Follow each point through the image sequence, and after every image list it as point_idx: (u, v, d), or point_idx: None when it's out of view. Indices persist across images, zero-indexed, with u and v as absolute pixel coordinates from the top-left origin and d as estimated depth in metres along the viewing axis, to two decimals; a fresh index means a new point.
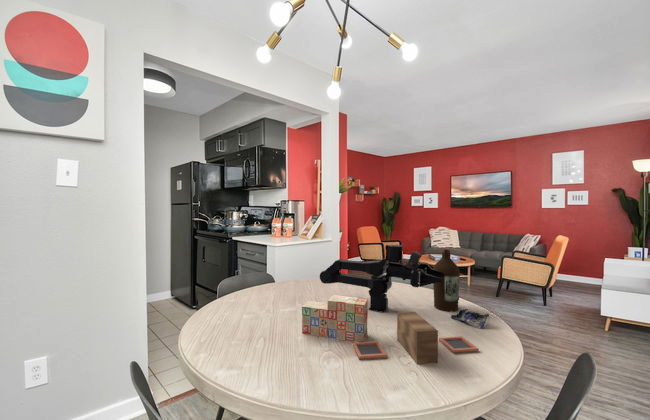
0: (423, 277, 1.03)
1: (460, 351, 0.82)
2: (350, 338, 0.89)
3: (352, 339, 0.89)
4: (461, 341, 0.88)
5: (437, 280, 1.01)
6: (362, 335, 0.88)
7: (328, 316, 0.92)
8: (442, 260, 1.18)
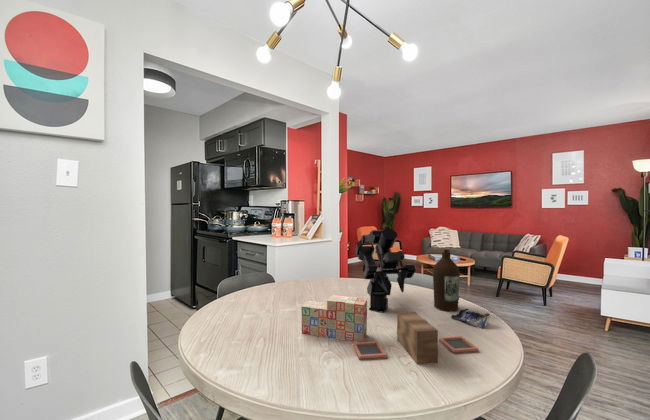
0: None
1: (460, 351, 0.82)
2: (349, 338, 0.89)
3: (351, 339, 0.89)
4: (461, 341, 0.88)
5: (385, 289, 1.00)
6: (361, 335, 0.88)
7: (327, 316, 0.92)
8: (442, 260, 1.18)
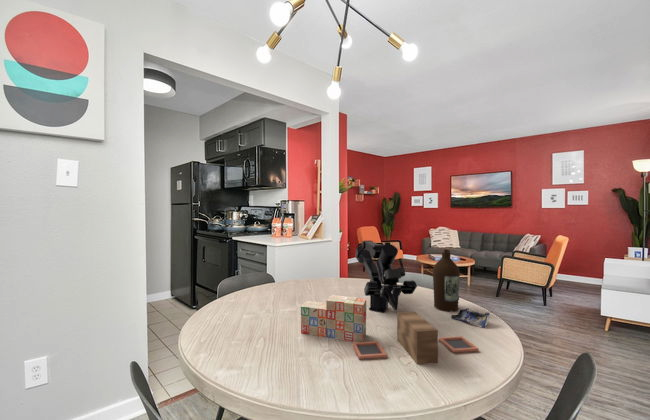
0: (388, 293, 1.02)
1: (460, 351, 0.82)
2: (349, 338, 0.89)
3: (351, 339, 0.89)
4: (461, 341, 0.88)
5: (392, 306, 0.99)
6: (361, 335, 0.88)
7: (327, 316, 0.92)
8: (442, 260, 1.18)
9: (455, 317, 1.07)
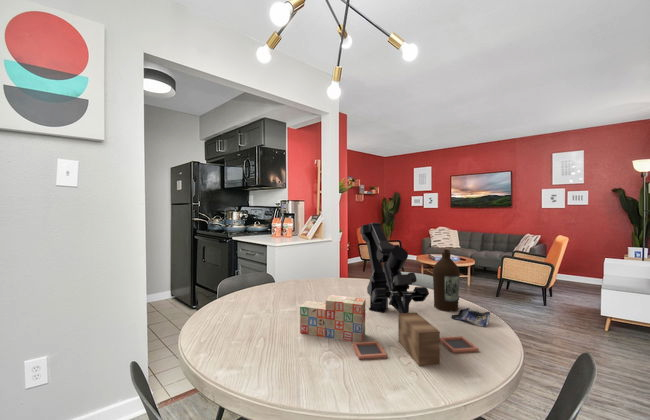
0: None
1: (460, 351, 0.82)
2: (348, 338, 0.89)
3: (350, 339, 0.89)
4: (461, 341, 0.88)
5: None
6: (360, 335, 0.88)
7: (326, 315, 0.92)
8: (442, 260, 1.18)
9: (456, 317, 1.07)
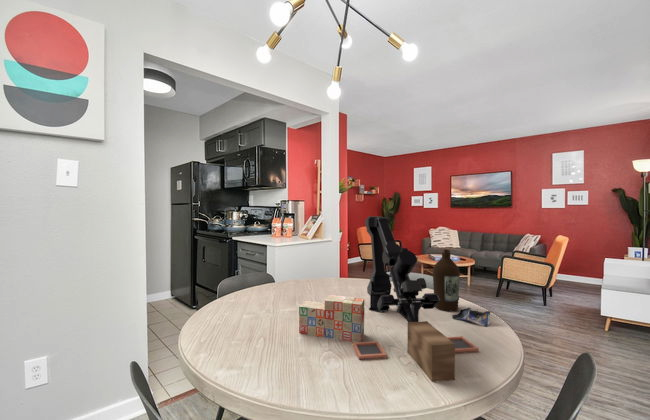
0: None
1: (460, 351, 0.82)
2: (347, 338, 0.90)
3: (349, 339, 0.89)
4: (461, 341, 0.88)
5: None
6: (359, 335, 0.88)
7: (325, 315, 0.92)
8: (442, 260, 1.18)
9: (457, 317, 1.07)
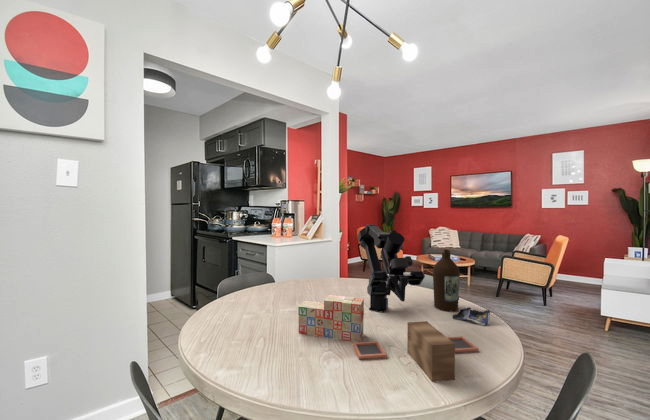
0: (394, 284, 0.96)
1: (460, 351, 0.82)
2: (346, 338, 0.90)
3: (348, 339, 0.89)
4: (461, 341, 0.88)
5: (399, 297, 0.93)
6: (358, 334, 0.88)
7: (324, 315, 0.92)
8: (442, 260, 1.18)
9: (457, 317, 1.07)
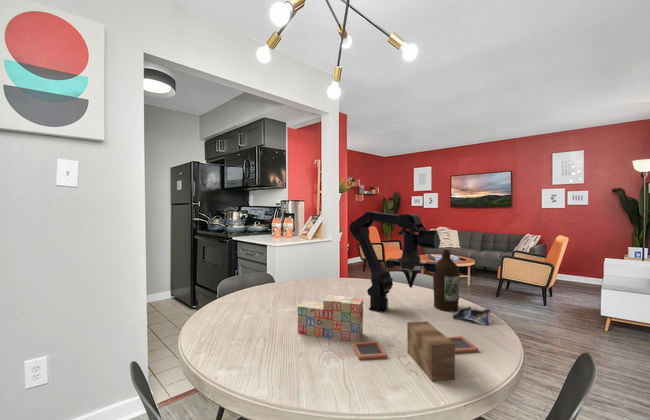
0: None
1: (460, 351, 0.82)
2: (346, 337, 0.90)
3: (348, 338, 0.89)
4: (461, 341, 0.88)
5: None
6: (358, 334, 0.88)
7: (324, 315, 0.92)
8: (442, 260, 1.18)
9: (457, 317, 1.07)
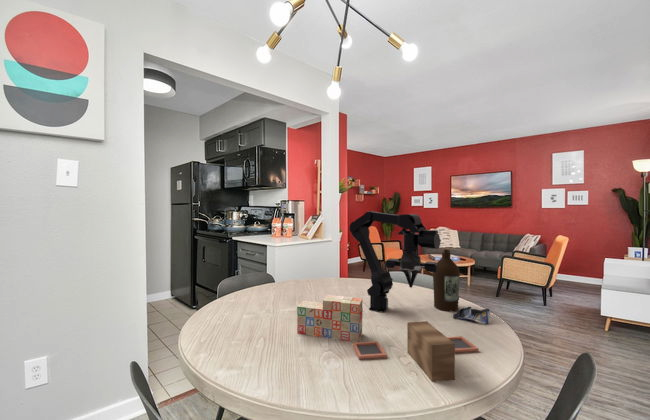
0: None
1: (460, 351, 0.82)
2: (345, 337, 0.90)
3: (347, 338, 0.89)
4: (461, 341, 0.88)
5: None
6: (357, 334, 0.88)
7: (323, 315, 0.92)
8: (442, 260, 1.18)
9: (458, 316, 1.07)
